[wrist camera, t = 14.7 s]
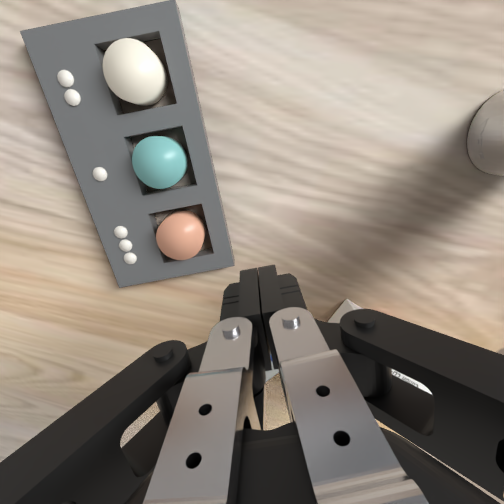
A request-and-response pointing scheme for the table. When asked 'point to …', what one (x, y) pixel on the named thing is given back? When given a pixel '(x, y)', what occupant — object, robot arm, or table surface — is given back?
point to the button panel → (128, 138)
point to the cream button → (134, 72)
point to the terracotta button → (181, 235)
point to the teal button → (159, 161)
